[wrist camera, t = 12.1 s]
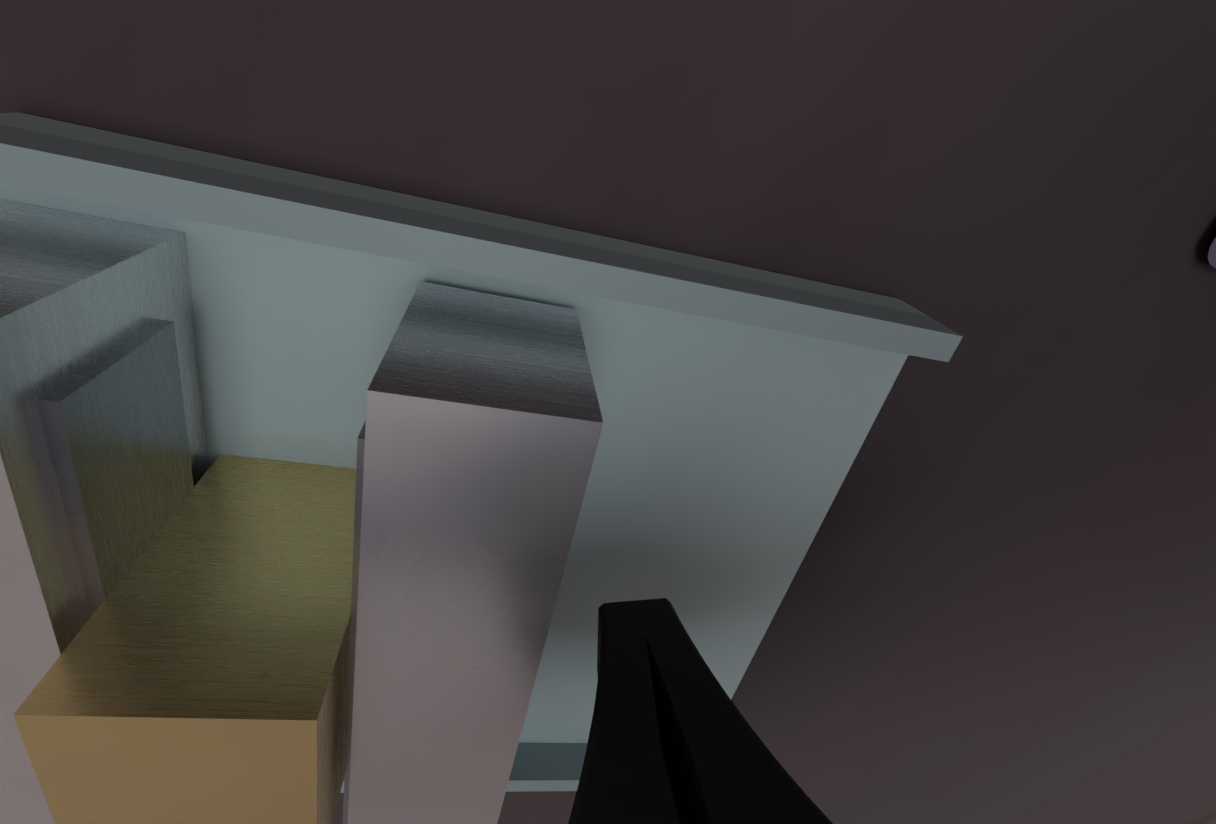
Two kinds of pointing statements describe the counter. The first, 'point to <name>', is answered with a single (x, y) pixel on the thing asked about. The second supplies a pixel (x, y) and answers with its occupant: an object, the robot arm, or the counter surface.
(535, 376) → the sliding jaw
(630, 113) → the counter surface
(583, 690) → the vise base
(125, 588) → the block
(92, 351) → the fixed jaw
